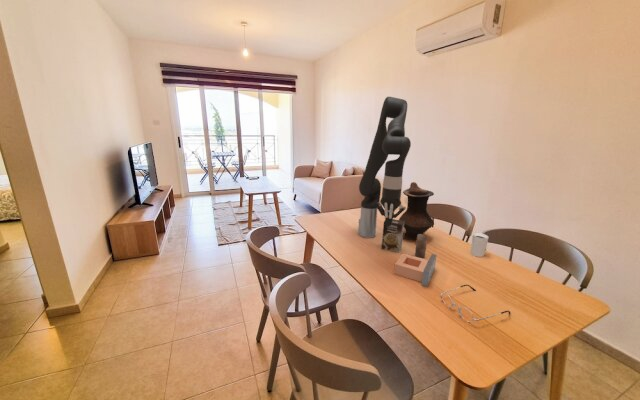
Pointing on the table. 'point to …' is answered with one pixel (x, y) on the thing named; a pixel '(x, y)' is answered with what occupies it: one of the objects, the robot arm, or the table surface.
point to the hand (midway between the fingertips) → (388, 225)
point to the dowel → (421, 246)
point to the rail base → (429, 270)
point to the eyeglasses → (466, 308)
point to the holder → (410, 267)
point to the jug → (416, 212)
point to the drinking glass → (479, 244)
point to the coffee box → (393, 236)
